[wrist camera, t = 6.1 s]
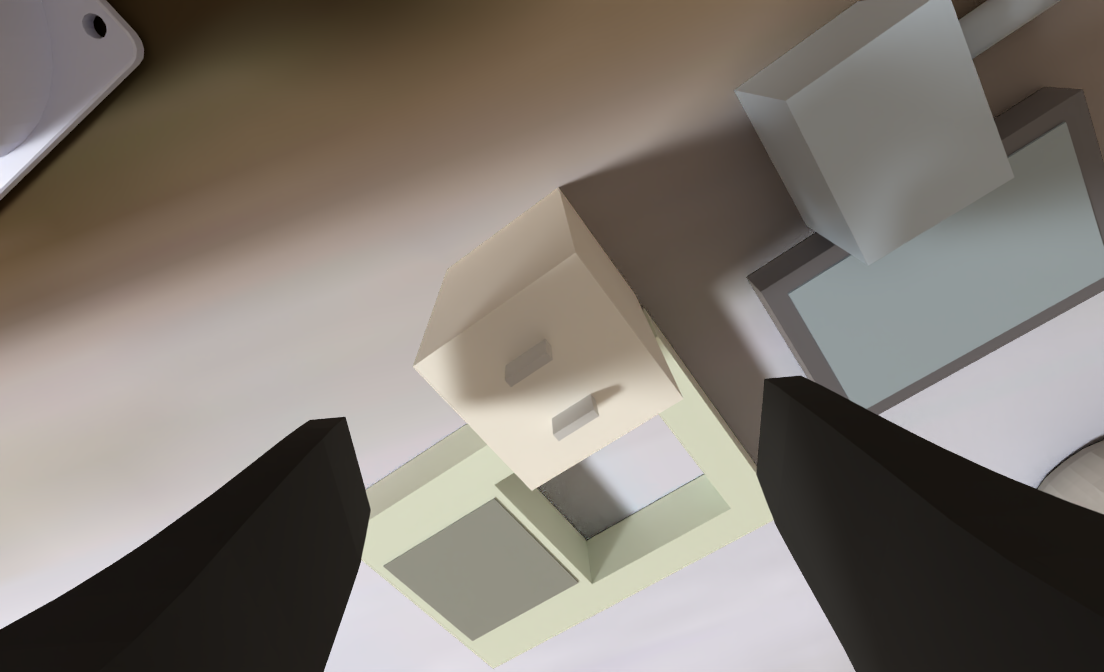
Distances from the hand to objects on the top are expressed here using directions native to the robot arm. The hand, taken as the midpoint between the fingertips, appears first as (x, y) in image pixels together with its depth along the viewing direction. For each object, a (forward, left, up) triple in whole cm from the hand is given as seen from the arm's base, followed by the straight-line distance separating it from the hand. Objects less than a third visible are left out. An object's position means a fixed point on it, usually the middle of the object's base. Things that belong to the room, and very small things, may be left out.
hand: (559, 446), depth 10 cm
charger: (0, 0, -8) cm, 8 cm away
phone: (+6, +9, -8) cm, 14 cm away
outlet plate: (+6, -4, -8) cm, 11 cm away
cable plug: (+1, +11, -8) cm, 14 cm away
